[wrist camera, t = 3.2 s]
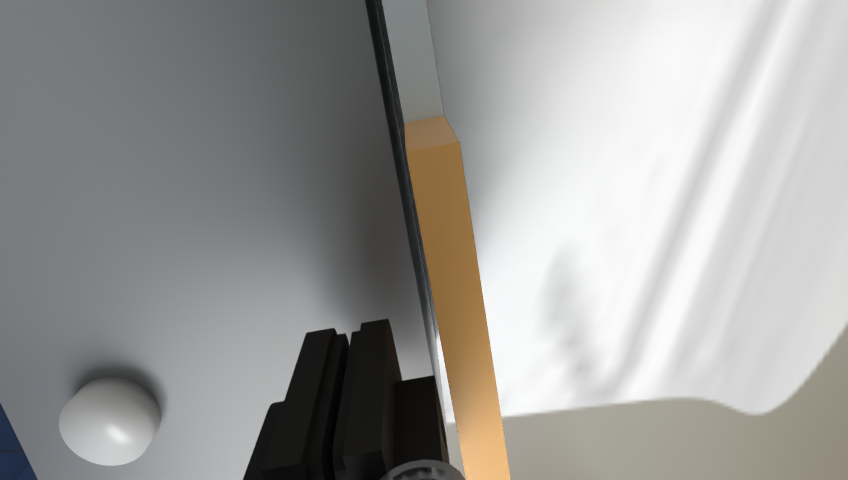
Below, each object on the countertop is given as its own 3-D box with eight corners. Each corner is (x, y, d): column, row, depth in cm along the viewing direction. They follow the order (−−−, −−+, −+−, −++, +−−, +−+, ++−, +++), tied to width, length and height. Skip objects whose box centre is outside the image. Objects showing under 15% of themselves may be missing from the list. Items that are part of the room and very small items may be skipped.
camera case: (28, -57, 17) (-300, -141, 9) (355, -116, 17) (316, -253, 9) (183, 382, 22) (62, 576, 14) (436, 340, 22) (457, 513, 14)
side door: (377, -46, 17) (348, -164, 7) (404, -51, 17) (411, -177, 7) (441, 308, 21) (480, 555, 11) (462, 304, 21) (521, 548, 11)
